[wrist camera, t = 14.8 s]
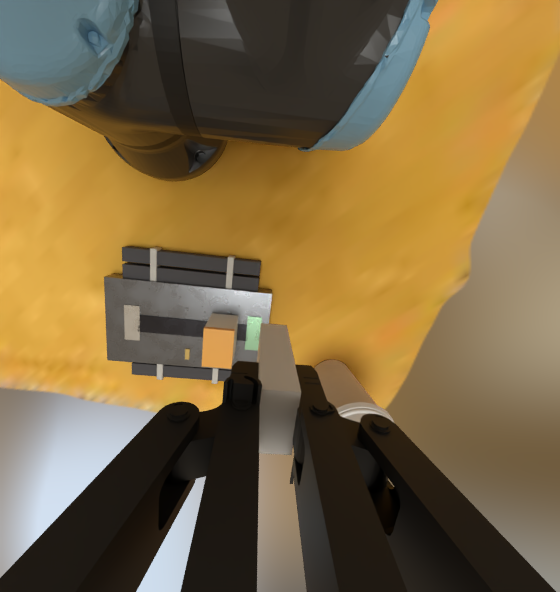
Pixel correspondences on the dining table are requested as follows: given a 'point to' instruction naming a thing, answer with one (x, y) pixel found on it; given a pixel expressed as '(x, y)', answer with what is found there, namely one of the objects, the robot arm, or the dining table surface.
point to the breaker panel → (177, 320)
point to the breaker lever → (219, 341)
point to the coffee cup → (346, 391)
